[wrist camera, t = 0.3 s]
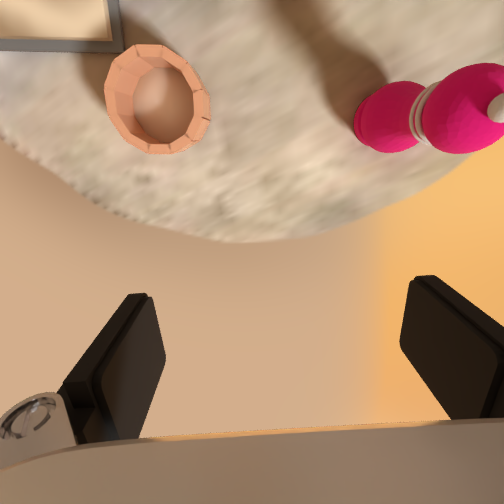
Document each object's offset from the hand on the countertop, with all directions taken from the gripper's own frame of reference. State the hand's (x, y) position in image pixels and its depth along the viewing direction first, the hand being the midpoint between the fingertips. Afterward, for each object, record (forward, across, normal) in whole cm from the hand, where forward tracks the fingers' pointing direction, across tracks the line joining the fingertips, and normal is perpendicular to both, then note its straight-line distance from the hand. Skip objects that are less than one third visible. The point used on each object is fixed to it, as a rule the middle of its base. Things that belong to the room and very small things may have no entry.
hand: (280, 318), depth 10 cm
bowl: (+30, +10, -10) cm, 34 cm away
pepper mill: (+31, -16, -7) cm, 35 cm away
